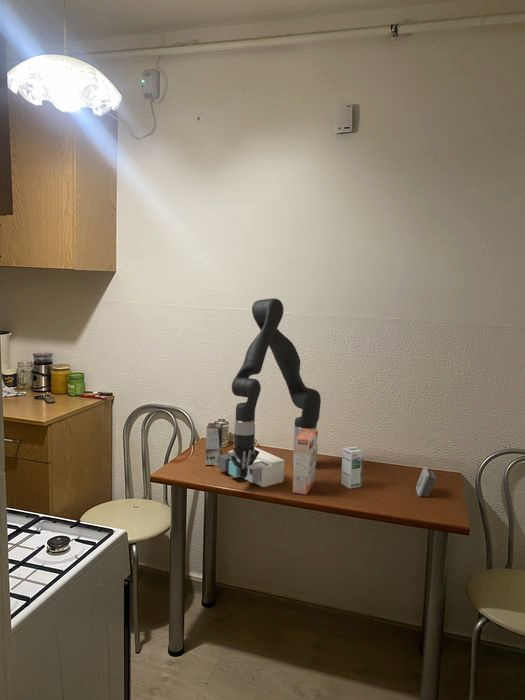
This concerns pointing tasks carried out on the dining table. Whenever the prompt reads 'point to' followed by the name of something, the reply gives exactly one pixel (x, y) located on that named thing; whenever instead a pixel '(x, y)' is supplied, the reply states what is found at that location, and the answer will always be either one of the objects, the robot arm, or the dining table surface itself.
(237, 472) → the teal plug
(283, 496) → the dining table surface
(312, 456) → the cracker box
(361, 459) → the syrup box
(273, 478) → the socket housing
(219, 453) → the coffee box
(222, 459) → the charcoal plug
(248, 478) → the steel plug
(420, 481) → the electrical switch
